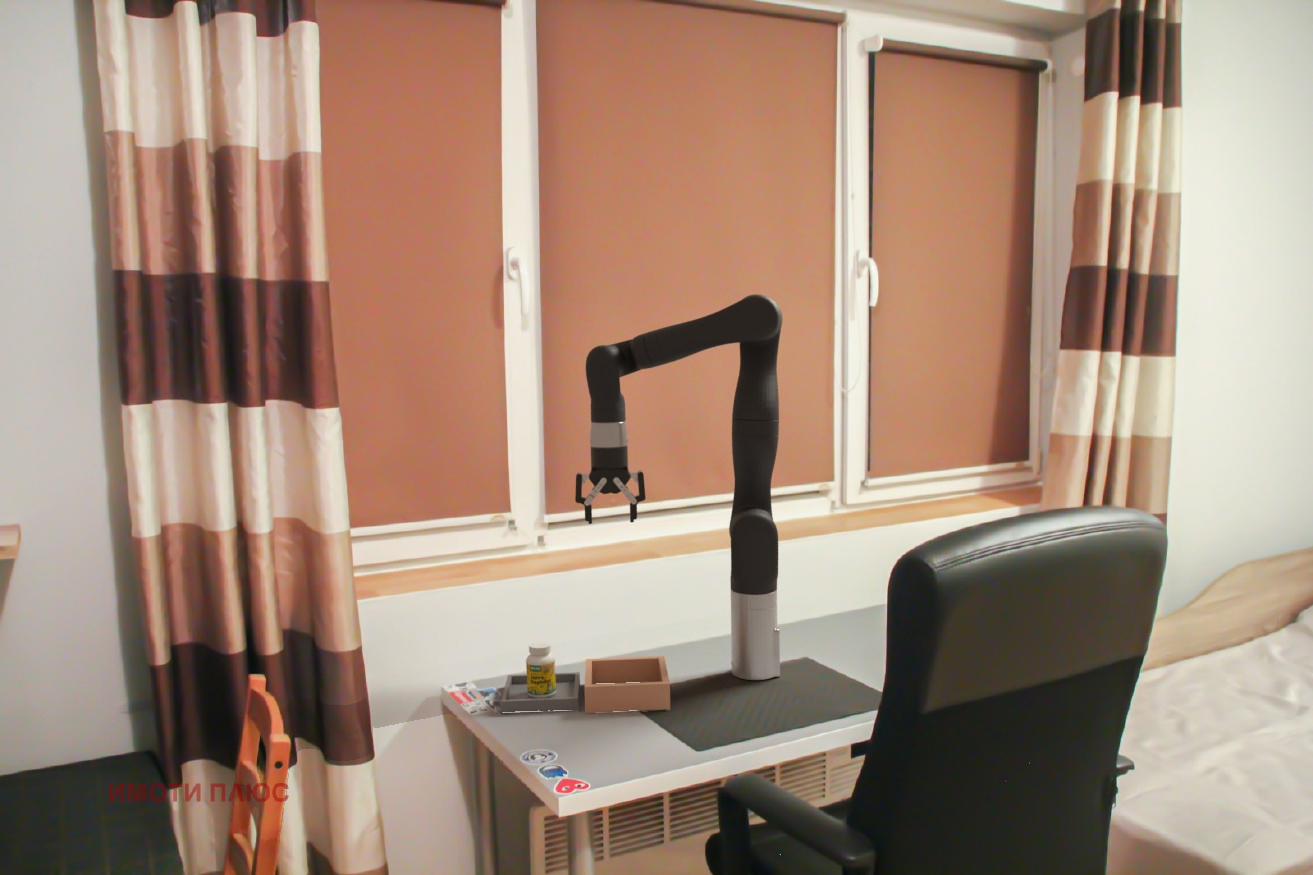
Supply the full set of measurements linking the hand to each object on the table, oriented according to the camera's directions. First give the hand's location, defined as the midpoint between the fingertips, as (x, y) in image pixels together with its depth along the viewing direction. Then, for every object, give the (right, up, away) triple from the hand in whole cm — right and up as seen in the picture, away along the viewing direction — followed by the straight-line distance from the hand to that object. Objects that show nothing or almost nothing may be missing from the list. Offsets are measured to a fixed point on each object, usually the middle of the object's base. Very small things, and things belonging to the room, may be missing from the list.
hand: (611, 522), depth 196 cm
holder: (+4, -32, -15) cm, 35 cm away
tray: (-12, -32, -15) cm, 37 cm away
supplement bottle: (-12, -31, -15) cm, 37 cm away
